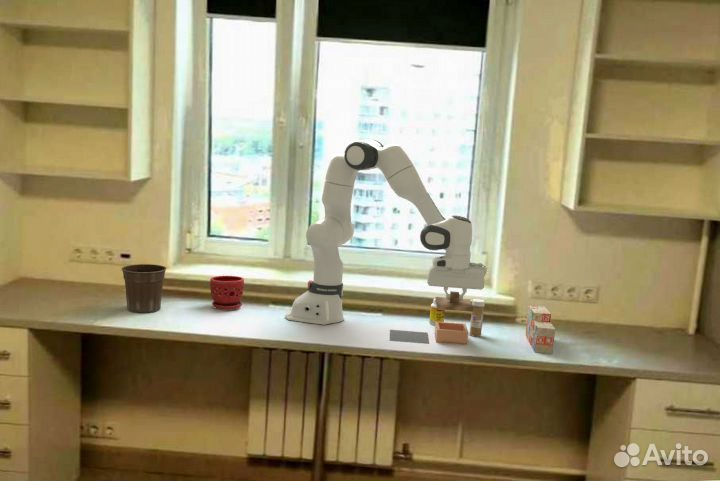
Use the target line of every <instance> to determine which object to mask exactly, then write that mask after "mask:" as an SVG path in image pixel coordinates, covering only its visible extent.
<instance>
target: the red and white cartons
mask: <svg viewBox="0 0 720 481" xmlns="http://www.w3.org/2000/svg"><path fill="white" fill-rule="evenodd" d="M551 317H552V313H551V312H550V311H549V310H548V309H547V307H546V306H544V305H534V304H533V305H532V304H529V305H528V306H527V317H526V328H525V338H526V339H527V341H528V343H529V345H530V346H531V349H532V350H533V352H534V353H537V354H549V355H550V354H551V355H552V354H553V350H554V341H555V336H556V328H555V327H554V325H553V324H552V322H551V320H552V318H551Z"/></svg>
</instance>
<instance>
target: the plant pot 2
mask: <svg viewBox="0 0 720 481" xmlns="http://www.w3.org/2000/svg"><path fill="white" fill-rule="evenodd" d="M209 285H210V286H209V287H210V294H211V298H212V303H211V305H212V306H213V308H215V309H217V310H222V311H233V310H235V311H236V310H237V309H239V308H240V307H242V305H243V303H242V301H241V300H242V297H243V294H244V286H245V278H244V277H242V276H237V275H216V276H211V277H210V282H209Z"/></svg>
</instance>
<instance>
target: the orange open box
mask: <svg viewBox="0 0 720 481" xmlns="http://www.w3.org/2000/svg"><path fill="white" fill-rule="evenodd" d="M434 338H435V342H436V343H439V344H451V345H452V344H453V345H454V344H455V345H462V346H464V345H465V346H467V345H468V341H469V340H468V338H469V330H468V327H467V325H466V323H459V322H448V321H444V322H436V321H435V326H434Z"/></svg>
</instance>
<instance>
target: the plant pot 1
mask: <svg viewBox="0 0 720 481" xmlns="http://www.w3.org/2000/svg"><path fill="white" fill-rule="evenodd" d="M121 271H122V273H123V280H124V286H125V289H124V290H125V298H126V299H125V300H126V309H127V311H128V312H131V313H135V314H136V313H138V312H140V313H141V314H147V313H148V314H150V313H155V312H157V311H160V309H161V307H162V296H163V288H164V286H163V284H164V280H165V276H166V271H167V266H164V265H160V264H152V263H151V264H150V263H141V264H140V263H138V264H129V265H124V266H122V267H121Z"/></svg>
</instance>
